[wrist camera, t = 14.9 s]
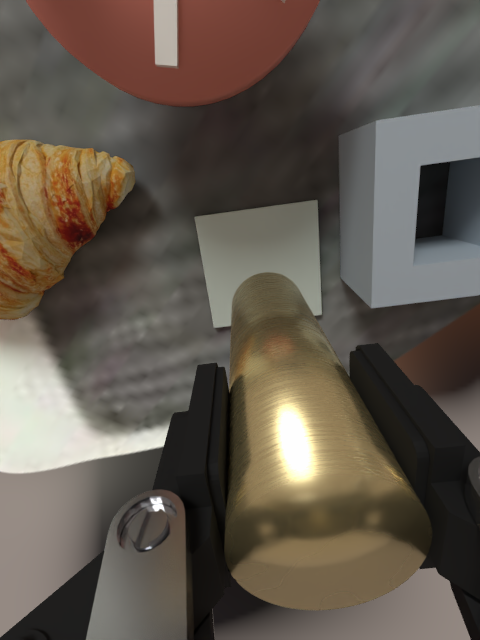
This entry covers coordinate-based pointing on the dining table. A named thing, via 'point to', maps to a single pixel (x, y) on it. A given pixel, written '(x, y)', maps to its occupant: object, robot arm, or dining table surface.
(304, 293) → the sage mat
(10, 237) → the croissant
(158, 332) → the dining table surface
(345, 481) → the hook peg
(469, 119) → the eye block
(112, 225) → the dining table surface
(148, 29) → the handwheel
